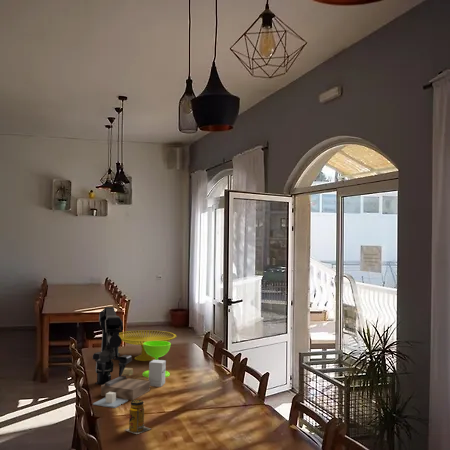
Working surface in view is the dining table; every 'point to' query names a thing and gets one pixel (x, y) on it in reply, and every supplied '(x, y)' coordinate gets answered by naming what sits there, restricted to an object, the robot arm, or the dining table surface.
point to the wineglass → (156, 352)
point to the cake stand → (141, 340)
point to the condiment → (137, 417)
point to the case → (126, 387)
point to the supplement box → (157, 372)
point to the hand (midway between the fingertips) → (111, 375)
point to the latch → (127, 371)
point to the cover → (110, 401)
